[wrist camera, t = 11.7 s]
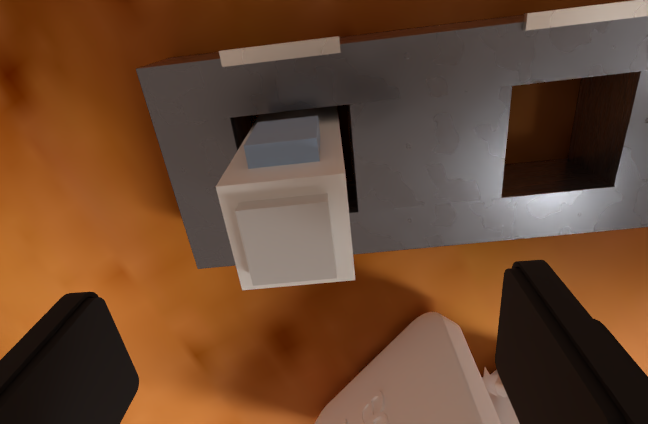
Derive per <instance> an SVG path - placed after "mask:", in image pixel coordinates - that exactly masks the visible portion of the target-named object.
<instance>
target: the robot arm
mask: <svg viewBox="0 0 648 424" xmlns="http://www.w3.org/2000/svg"><path fill="white" fill-rule="evenodd" d="M495 363H496V368H497V372H498V375H499V377H500V379H501V382H502V384H503V386H504V389H505V391H506V393H507V396H508V398H509V400H510V402H511V405H512V407H513V409H514V412H515V414H516V416H517V418H518V421H519V423H520V424H648V377H647V375H646V374H645V373H644V372H643V371H642V369H641V368H640V367H639V366H638V365H637V364H636V362H635V361H634V360H633V359H632V358H631V356H630V355H629V354H628V353H627V352H626V350H625V349H624V348H623V347H622V346H621V345H620V343H619V342H618V341H617V340H616V339H615V337H614V336H613V335H612V334H611V333H610V331H609V330H608V329H607V328H606V327H605V326H604V325H603V324H602V323H601V322H600V321H598V320H595V319H593V318H592V317H591V316H590V315H589V313H588V312H587V311H586V310H585V309H584V307H583V306H582V305H581V304H580V303H579V301H578V300H577V299H576V298H575V296H574V295H573V294H572V293H571V292H570V290H569V289H568V288H567V287H566V285H565V284H564V283H563V282H562V281H561V279H560V278H559V277H558V276H557V275H556V273H555V272H554V271H553V270H552V268H551V267H550V266H549V265H548V264H547V263H546V262H545V261H544V260H532V261H518V262H515V263H514V264H513V266H512V269H506V270H505V273H504V280H503V289H502V298H501V308H500V317H499V326H498V336H497V345H496V354H495ZM138 386H139V377H138V374H137V372H136V370H135V368H134V365H133V363H132V361H131V359H130V356H129V354H128V352H127V350H126V347H125V345H124V343H123V341H122V338H121V336H120V334H119V332H118V330H117V327H116V325H115V323H114V321H113V318H112V316H111V314H110V312H109V309H108V307H107V305H106V303H105V301H104V299H102V298H100V297H98V295H97V294H95V293H94V292H81V293H69V294H65V295H64V296H63V297H62V298H61V299H60V300H59V301H58V302H57V303H56V304H55V305H54V306H53V307H52V308H51V309H50V310H49V311H48V312H47V313H46V314H45V315H44V316H43V317H42V318H41V319H40V320H39V321H38V322H37V323H36V324H35V325H34V326H33V327H32V328H31V329H30V330H29V331H28V332H27V333H26V334H25V336H24V337H23V338H22V339H21V340H20V341H19V342H18V343H17V344H16V345H15V346H14V347H13V348H12V349H11V350H10V351H9V352H8V353H7V354H6V355H5V356H4V357H3V358H2V359H1V360H0V424H120V422H121V420H122V419H123V417H124V415H125V413H126V411H127V409H128V407H129V405H130V404H131V402H132V400H133V398H134V396H135V394H136V392H137V390H138Z"/></svg>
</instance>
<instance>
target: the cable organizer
mask: <svg viewBox="0 0 648 424" xmlns="http://www.w3.org/2000/svg"><path fill="white" fill-rule="evenodd" d="M315 424H520V423H519V421H518V418H517V416H516V414H515V412H514V409H513V407H512V405H511V402H510V400H509V398H508V396H507V393H506V391H505V389H504V386H503V384H502V382H501V379H500V377H499V375H498V372H497V370H495V371H494V372H493V373H492V374H489V372H488V371H487V369H486V367H484V376H483V377H481V375H480V373H479V370H478V368H477V366H476V363H475V361H474V358H473V356H472V354H471V351H470V349H469V347H468V344H467V342H466V340H465V337H464V335H463V333H462V330H461V328H460V326H459V325H458V324H457V323H455V322H453V321H451V320H450V319H448V318H446V317H445V316H443V315H441V314H439V313H437V312H427V313H424V314H422V315H420V316H419V317H417V318H416V319H415V320H414V321H412V322H411V323H410V324H409V325H408V326H407V327H406V328H405V329H404V330H403V331H402V332H401V333H400V334H399V335H398V336H397V337H396V338H395V339H394V340H393V341H392V342H391V343H390V344H389V345H388V346H387V347H386V348H385V349H384V350H383V351H382V352H380V353H379V354H378V355H377V356H376V357H375V358H374V359H373V360H372V361H371V362H370V363H369V364H368V365H367V366H366V367H365V368H364V369H363V370H362V371H361V372H360V373H359V374H358V375H357V376H356V377H355V378H354V379H353V380H352V381H351V382H350V383H349V384H348V385H347V386H346V387H345V388H344V389H342V390H341V391H340V392H339V393H338V394H337V395H336V396H335V397H334V398H333V399H332V400H331V401H330V402H329V403H328V404H327V405H326V406H325V407H324V409H323V410H322V411H321V413H320V414H319V416H318V418H317V420H316V422H315Z"/></svg>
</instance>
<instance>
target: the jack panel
mask: <svg viewBox="0 0 648 424" xmlns="http://www.w3.org/2000/svg"><path fill="white" fill-rule="evenodd" d="M136 71H137V74H138V78H139V81H140V84H141V87H142V91H143V94H144V97H145V100H146V103H147V107H148V110H149V113H150V116H151V120H152V123H153V126H154V129H155V132H156V136H157V139H158V142H159V145H160V149H161V152H162V155H163V158H164V161H165V165H166V168H167V171H168V174H169V178H170V181H171V184H172V187H173V190H174V194H175V197H176V200H177V203H178V207H179V210H180V213H181V216H182V219H183V223H184V226H185V229H186V232H187V236H188V239H189V242H190V245H191V248H192V252H193V255H194V258H195V261H196V265H197V268H198V269H202V268H213V267H223V266H234V265H236V264H235V260H234V256H233V253H232V249H231V245H230V241H229V237H228V233H227V229H226V225H225V221H224V218H223V214H222V210H221V206H220V202H219V198H218V194H217V190H216V185H217V184H218V182H219V180H220V179H221V177H222V175H223V174H224V172H225V170H226V169H227V167H228V166H229V164H230V162H231V161H232V159H233V157H234V156H235V154H236V152H237V151H238V149H239V147H240V146H241V144H242V142H243V141H244V139H245V138H246V136H247V134H248V133H249V131H250V129H251V128H252V126H251V121H250V116H249V115H258V114H267V113H276V112H285V111H294V110H303V109H311V108H320V107H329V106H338V105H347V112H348V124H349V136H350V148H351V159H352V171H353V180H352V181H346V186H347V196H348V207H349V217H350V228H351V239H352V249H353V254H363V253H373V252H384V251H395V250H406V249H416V248H427V247H438V246H449V245H459V244H470V243H481V242H491V241H502V240H513V239H524V238H534V237H545V236H556V235H566V234H577V233H588V232H599V231H609V230H620V229H631V228H641V227H648V0H629V1H621V2H613V3H605V4H597V5H588V6H580V7H572V8H564V9H556V10H547V11H539V12H531V13H524V15H517V16H509V17H501V18H493V19H485V20H476V21H468V22H460V23H452V24H444V25H435V26H427V27H419V28H411V29H403V30H394V31H386V32H378V33H370V34H362V35H353V36H345V37H339V36H334V37H326V38H318V39H310V40H302V41H294V42H285V43H277V44H269V45H261V46H253V47H244V48H236V49H228V50H220V51H219V52H214V53H206V54H198V55H189V56H181V57H173V58H168V59H165V60H162V61H158V62H155V63H152V64H149V65H146V66H143V67H140V68H137V69H136ZM577 78H582V79H581V84H580V90H579V96H578V102H577V107H576V113H575V119H574V125H573V130H572V136H571V142H570V147H569V153H568V158H566V159H556V160H546V161H536V162H527V163H517V164H507V165H504V164H505V154H506V144H507V134H508V124H509V114H510V103H511V93H512V86H515V85H524V84H533V83H541V82H550V81H559V80H568V79H577Z"/></svg>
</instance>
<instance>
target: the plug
mask: <svg viewBox="0 0 648 424" xmlns="http://www.w3.org/2000/svg"><path fill="white" fill-rule="evenodd" d="M216 190H217V194H218V198H219V202H220V206H221V210H222V214H223V218H224V221H225V225H226V229H227V233H228V237H229V241H230V245H231V249H232V253H233V256H234V260H235V264H236V268H237V272H238V276H239V280H240V284H241V288H242V290H252V289H263V288H274V287H285V286H296V285H307V284H318V283H329V282H340V281H352V280H355V270H354V260H353V249H352V239H351V228H350V217H349V207H348V196H347V186H346V175H345V167H344V158H343V150H342V142H341V134H340V126H339V118H338V110H337V106H329V107H320V108H311V109H303V110H294V111H285V112H276V113H267V114H259V116H258V118H257V119H256V121H255V123H254V124H253V126H252V128H251V129H250V131H249V133H248V134H247V136H246V138H245V139H244V141H243V142H242V144H241V146H240V147H239V149H238V151H237V152H236V154H235V156H234V157H233V159H232V161H231V162H230V164H229V166H228V167H227V169H226V170H225V172H224V174H223V175H222V177H221V179H220V180H219V182H218V184H217V185H216Z"/></svg>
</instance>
